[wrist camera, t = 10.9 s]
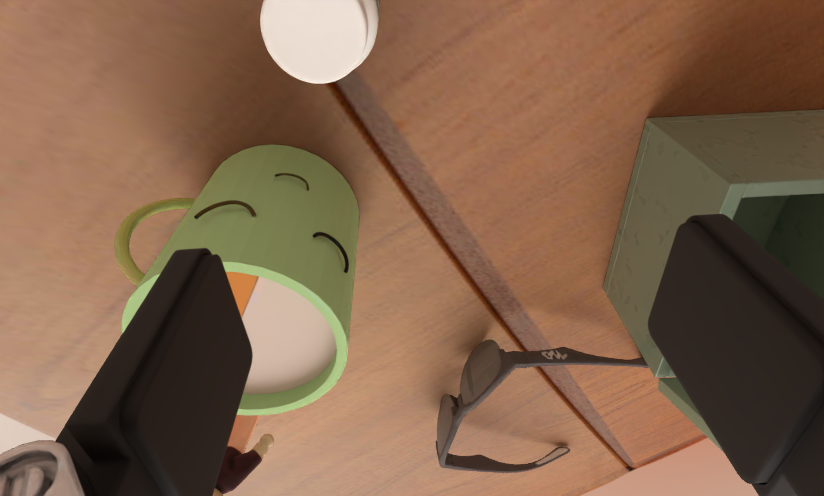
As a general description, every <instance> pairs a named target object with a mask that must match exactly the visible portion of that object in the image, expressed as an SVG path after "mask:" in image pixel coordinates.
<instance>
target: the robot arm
mask: <svg viewBox="0 0 824 496" xmlns="http://www.w3.org/2000/svg"><path fill="white" fill-rule="evenodd" d="M648 330H649V334H650V336H651V338H652V339H653V341H654V342H655V344H656V346H657V347H658V349H659V350H660V352H661V353H662V355H663V357H664V358H665V360H666V361H667V363H668V364H669V366H670V368H671V369H672V371H673V372H674V374H675V376H676V377H677V379H678V380H679V382H680V383H681V385H682V387H683V388H684V390H685V391H686V393H687V394H688V396H689V398H690V399H691V401H692V402H693V404H694V405H695V407H696V409H697V410H698V412H699V413H700V415H701V417H702V418H703V420H704V421H705V423H706V424H707V426H708V428H709V429H710V431H711V432H712V434H713V435H714V437H715V439H716V440H717V442H718V443H719V445H720V447H721V448H722V450H723V451H724V453H725V454H726V456H727V458H728V459H729V461H730V462H731V464H732V465H733V467H734V469H735V470H736V471H737V473H738V475H739V476H740V477H741V478H742V479H743V480H744V481H745V482H747V483H749V484H752V486H753V487H754V489H755V490H756V492H757V493H758V495H759V496H824V300H823V299H822V298H820V297H819V296H818V295H817V294H816V293H815V292H814V291H812V290H811V289H810V288H809V287H808V286H807V285H806V284H804V283H803V282H802V281H801V280H800V279H799V278H798V277H796V276H795V275H794V274H793V273H792V272H791V271H790V270H788V269H787V268H786V267H785V266H784V265H783V264H782V263H780V262H779V261H778V260H777V259H776V258H775V257H774V256H772V255H771V254H770V253H769V252H768V251H767V250H766V249H764V248H763V247H762V246H761V245H760V244H759V243H757V242H756V241H755V240H754V239H753V238H752V237H751V236H749V235H748V234H747V233H746V232H745V231H744V230H743V229H741V228H740V227H739V226H738V225H737V224H736V223H735V222H733V221H732V220H731V219H730V218H729V217H728V216H726V215H724V214H707V215H693V216H691V217H689V218H688V219H687V220H686V222H685V223H683V224H681V225H680V226H679V227H678V229H677V232H676V235H675V238H674V241H673V244H672V247H671V250H670V253H669V256H668V259H667V263H666V266H665V269H664V272H663V275H662V278H661V281H660V284H659V287H658V290H657V293H656V297H655V300H654V303H653V306H652V309H651V312H650V315H649V318H648ZM252 358H253V353H252V347H251V344H250V341H249V338H248V335H247V332H246V329H245V326H244V323H243V321H242V318H241V315H240V312H239V309H238V306H237V303H236V300H235V297H234V295H233V292H232V289H231V286H230V283H229V280H228V277H227V274H226V271H225V269H224V266H223V263H222V260H221V258H220V256H219V255H217V254H214V255H212V253H211V252H210V250H209V249H207V248H196V249H181V250H176V251H175V252H174V253H173V254H172V256H171V258H170V259H169V261H168V262H167V264H166V265H165V267H164V269H163V270H162V272H161V273H160V275H159V277H158V278H157V280H156V281H155V283H154V285H153V286H152V288H151V289H150V291H149V292H148V294H147V296H146V297H145V299H144V300H143V302H142V304H141V305H140V307H139V308H138V310H137V312H136V313H135V315H134V316H133V318H132V320H131V321H130V323H129V324H128V326H127V327H126V329H125V331H124V332H123V334H122V335H121V337H120V339H119V340H118V342H117V343H116V345H115V347H114V348H113V350H112V351H111V353H110V354H109V356H108V358H107V359H106V361H105V362H104V364H103V366H102V367H101V369H100V370H99V372H98V374H97V375H96V377H95V378H94V380H93V381H92V383H91V385H90V386H89V388H88V389H87V391H86V393H85V394H84V396H83V397H82V399H81V401H80V402H79V404H78V405H77V407H76V408H75V410H74V412H73V413H72V415H71V416H70V418H69V420H68V421H67V423H66V424H65V427H64V428H63V430H62V431H61V433H60V435H59V436H58V438H57V439H56V441H51V440H48V441H47V440H46V441H45V440H41V441H40V440H38V441H34V442H30V443H26V444H22V445H19V446H17V447H15V448H12V449H11V450H8V451H6V452H4V453H2V454H1V455H0V496H213V493H214V489H215V486H216V482H217V479H218V476H219V472H220V469H221V466H222V462H223V459H224V456H225V452H226V449H227V445H228V442H229V439H230V435H231V432H232V429H233V425H234V422H235V419H236V415H237V412H238V409H239V405H240V402H241V398H242V395H243V392H244V388H245V385H246V382H247V378H248V375H249V372H250V368H251V365H252Z"/></svg>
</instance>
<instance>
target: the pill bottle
mask: <svg viewBox="0 0 824 496" xmlns="http://www.w3.org/2000/svg"><path fill="white" fill-rule="evenodd" d="M379 5H380V3H379V0H264V1H263V5H262V9H261V16H260V26H261V32H262V37H263V40H264V43H265V45H266V48H267V50H268V52H269V53H270V55H271V56H272V58H273V59H274V61H275V62H276V63H277V64H278V65H279V66H280V67H281V68H282V69H283V70H284V71H285V72H287V73H288V74H290V75H291V76H293V77H295V78H297V79H299V80H302V81H305V82H309V83H316V84H323V83H330V82H334V81H336V80H339V79H341V78H343V77H344V76H346V75H347V74H349V73H350V72H351V71H352V70H354V69H355V68H356V67H358V66H359V65H360V64H361V63H362V62H363V61H364V60H365V59H366V57H367V56H368V55H369V53H370V51H371V49H372V47H373V45H374V43H375V39H376V35H377V30H378V20H379Z"/></svg>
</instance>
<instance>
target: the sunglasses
mask: <svg viewBox="0 0 824 496" xmlns="http://www.w3.org/2000/svg"><path fill="white" fill-rule="evenodd" d="M550 365H611V366H632V367H643V368H649V366H648V365H647V363H646V361H645V360H644V359H642V358H637V359H632V360H623V359H614V358H607V357H600V356H595V355H590V354H585V353H582V352H579V351H576V350H572V349H569V348H566V347H560V348H556V349H550V350H541V351H526V352H519V351H511V352H505V351H504V350H503V349H500V348H499V346H498V345H497V343H496V342H495V341H493V340H486V341H484V342H482V343H481V344H479V345H478V346H477V347H476V348H475V349H474V350H473V352H472V353H471V355H470V356H469V358H468V360H467V362H466V364H465V366H464V369H463V373H462V377H461V384H460V394H459V396H458V398H456V397H454V396H452V395H448V394H446V395H445V396H444V397H443V399H442V402H441V406H440V410H439V415H438V422H437V441H436V449H437V455H438V460H439V464H440V466H441V467H443V468H450V469H456V470H467V471H480V472H496V473H515V472H524V471H528V470H532V469H535V468H539V467H541V466H544V465H546V464H548V463H550V462H552V461H554V460H556V459H557V458H559V457H561V456H563V455H565V454H567V453H568V452H570V449H569V448H566V447H558V448H556V449H554V450H553V451H552V452H551V453H549V454H548V455H546V456H545V457H543V458H542V459H540V460H538V461H535V462H532V463H528V464H519V465H514V464H506V463H501V462H498V461H495V460H492V459H490V458H487V457H485V456H482V455H474V456H456V455H452V454H449V453H448V451H449V448H450V446H451V444H452V442H453V439H454V437H455V434H456V432H457V430H458V427H459V425H460V423H461V421H462V419H463V418H464V417H465V416H466V414H467V413H468V412H469V411H471V410H473V409H474V408H476V407H477V406H478V405H479V404H480V403H481V402H482V401H483V400H484V399H485V398H486V397H487V396H488V395H489V394H490V393H491V392H492V391H493V390H494V389H495V388H496V387H497V386H498V385H499V384H500V383H501V382H502V381H503V380H504V379H505V378H506V377H507V376H508V375H509V374H510V373H511V372H512V371H513V370H514V369H515V368H527V367H534V366H550Z"/></svg>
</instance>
